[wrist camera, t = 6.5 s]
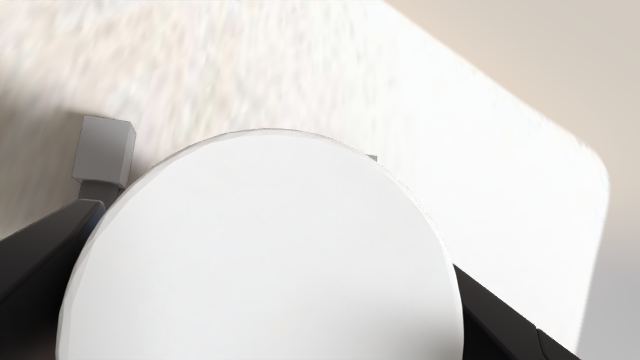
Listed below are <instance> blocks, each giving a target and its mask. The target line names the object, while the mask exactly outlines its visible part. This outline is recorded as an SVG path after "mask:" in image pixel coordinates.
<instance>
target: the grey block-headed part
mask: <svg viewBox="0 0 640 360" xmlns="http://www.w3.org/2000/svg"><path fill="white" fill-rule="evenodd" d="M135 139H136V132H135V130H134V128H133V126H132V124H131V122H129V121H122V120H115V119H108V118H101V117H94V116H87V115H84V119H83V124H82V129H81V133H80V138H79V143H78V147H77V152H76V157H75V161H74V166H73V171H72V175H71V177H72V178H74V179H75V180H77V181H78V182H80V183H81V188H80V193H79V197H78V199H90V200H100V201H102V202H103V204H104V208H105V213H106V212H107V210H108V209H109V208H110V207H111V205H112V204H113V203H114V202H115V201H116V200H117V196H118V191H119V188H121V189H127V184H128V178H129V172H130V167H131V161H132V156H133V150H134V144H135Z"/></svg>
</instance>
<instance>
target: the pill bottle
mask: <svg viewBox="0 0 640 360" xmlns="http://www.w3.org/2000/svg"><path fill="white" fill-rule="evenodd" d="M463 345H464V329H463V314H462V303H461V298H460V293H459V288H458V283H457V278H456V273H455V270H454V267H453V264H452V261H451V259H450V256H449V254H448V252H447V249H446V247H445V245H444V243H443V240H442V238H441V236H440V234H439V233H438V231H437V229H436V227H435V225H434V224H433V222H432V220H431V218H430V217H429V215H428V213H427V212H426V211H425V209H424V208H423V207H422V205H421V204H420V203H419V201H418V200H417V199H416V197H415V196H414V195H413V194H412V193H411V192H410V191H409V189H408V188H407V187H406V186H405V185H404V184H403V183H402V182H401V181H399V180H398V179H397V178H396V177H395V176H394V175H393V174H392V173H390V172H389V171H388V170H386V169H385V168H384V167H383V166H381V165H380V164H379V163H377V162H376V161H375V160H373V159H372V158H370V157H369V156H367V155H365V154H363V153H362V152H360V151H358V150H356V149H354V148H352V147H350V146H348V145H345V144H343V143H341V142H339V141H336V140H334V139H331V138H328V137H325V136H321V135H318V134H314V133H308V132H303V131H298V130H291V129H271V128H262V129H252V130H244V131H237V132H230V133H224V134H221V135H218V136H215V137H212V138H209V139H206V140H203V141H200V142H198V143H195V144H193V145H190V146H188V147H186V148H184V149H182V150H180V151H178V152H176V153H174V154H172V155H170V156H169V157H167V158H166V159H164V160H163V161H161V162H160V163H158V164H157V165H155V166H154V167H152V168H151V169H149V170H148V171H146V172H145V173H144V174H143V175H142V176H141V177H139V178H138V179H137V180H136V181H135V182H134V183H132V184H131V185H130V186H129V187H128V188H127V189H126V190H125V191H124V192H123V193H122V194H121V195H120V196H119V198H118V199H117V200H116V201H115V202H114V203H113V204H112V205H111V207H110V208H109V209H108V210H107V212H106V213H105V214H104V215H103V216H102V218H101V219H100V221H99V222H98V224H97V225H96V227H95V228H94V230H93V232H92V233H91V235H90V236H89V238H88V240H87V242H86V244H85V246H84V247H83V249H82V251H81V253H80V255H79V258H78V260H77V262H76V264H75V266H74V268H73V271H72V274H71V277H70V279H69V282H68V285H67V288H66V291H65V295H64V298H63V302H62V306H61V309H60V313H59V320H58V329H57V338H56V351H55V355H56V360H462V355H463Z"/></svg>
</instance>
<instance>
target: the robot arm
mask: <svg viewBox="0 0 640 360" xmlns="http://www.w3.org/2000/svg"><path fill="white" fill-rule="evenodd" d="M104 214H105V208H104V204H103V202H102V201H100V200H90V199H78V200H76V201H74V202H72V203H70V204H68V205H66V206H65V207H63V208H61V209H59V210H57V211H55V212H53V213H51V214H50V215H48V216H46V217H44V218H42V219H40V220H38V221H36V222H34V223H33V224H31V225H29V226H27V227H25V228H23V229H21V230H19V231H17V232H16V233H14V234H12V235H10V236H8V237H6V238H4V239H2V240H1V241H0V360H56V355H55V351H56V338H57V329H58V320H59V313H60V309H61V306H62V302H63V298H64V295H65V291H66V288H67V285H68V282H69V279H70V277H71V274H72V271H73V268H74V266H75V264H76V262H77V260H78V258H79V255H80V253H81V251H82V249H83V247H84V246H85V244H86V242H87V240H88V238H89V236H90V235H91V233H92V232H93V230H94V228H95V227H96V225H97V224H98V222H99V221H100V219H101V218H102V216H103V215H104ZM452 264H453V263H452ZM453 267H454V270H455V273H456V278H457V283H458V288H459V293H460V298H461V303H462V314H463V329H464V345H463V355H462V360H580V359H579V358H578V357H577V356H575V355H574V354H573V353H571V352H570V351H568V350H567V349H566V348H564V347H563V346H562V345H560V344H559V343H558V342H556V341H555V340H554V339H552V338H551V337H550V336H548V335H547V334H546V333H544V332H543V331H542V330H540V329H536V326H535V325H534V324H532V323H531V322H530V321H528V320H527V319H526V318H524V317H523V316H522V315H520V314H519V313H518V312H516V311H515V310H514V309H512V308H511V307H510V306H509V305H507V304H506V303H505V302H503V301H502V300H501V299H499V298H498V297H497V296H495V295H494V294H493V293H491V292H490V291H489V290H487V289H486V288H485V287H483V286H482V285H481V284H479V283H478V282H477V281H475V280H474V279H473V278H471V277H470V276H469V275H468V274H466V273H465V272H464V271H462V270H461V269H460V268H458V267H457V266H456V265H454V264H453Z"/></svg>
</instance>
